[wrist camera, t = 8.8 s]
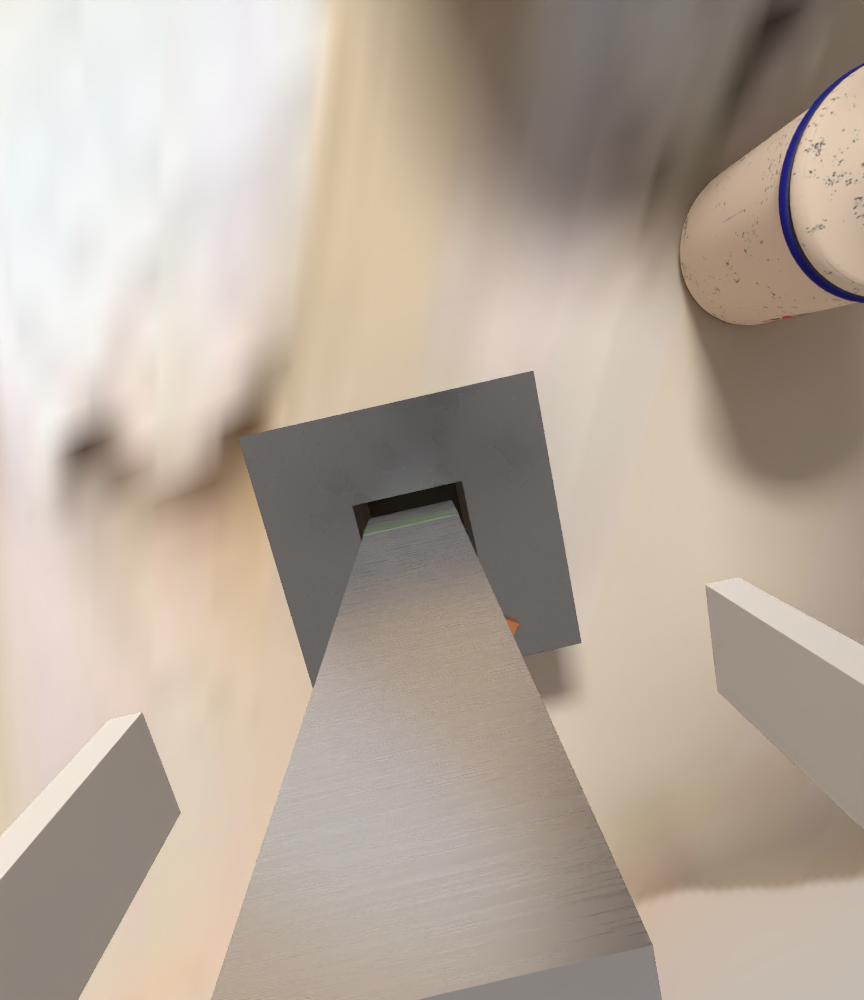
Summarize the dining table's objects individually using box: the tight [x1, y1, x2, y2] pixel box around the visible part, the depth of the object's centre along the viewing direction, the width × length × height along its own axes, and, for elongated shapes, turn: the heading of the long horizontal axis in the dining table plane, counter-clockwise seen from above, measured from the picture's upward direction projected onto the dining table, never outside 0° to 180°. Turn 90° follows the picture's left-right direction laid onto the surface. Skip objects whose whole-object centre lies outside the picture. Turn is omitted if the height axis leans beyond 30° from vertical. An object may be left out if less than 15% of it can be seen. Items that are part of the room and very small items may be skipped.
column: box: [211, 500, 662, 1000], centre depth 15 cm, size 5×4×20 cm
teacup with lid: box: [680, 64, 864, 325], centre depth 23 cm, size 12×9×12 cm
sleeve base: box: [239, 371, 581, 688], centre depth 27 cm, size 14×14×8 cm
